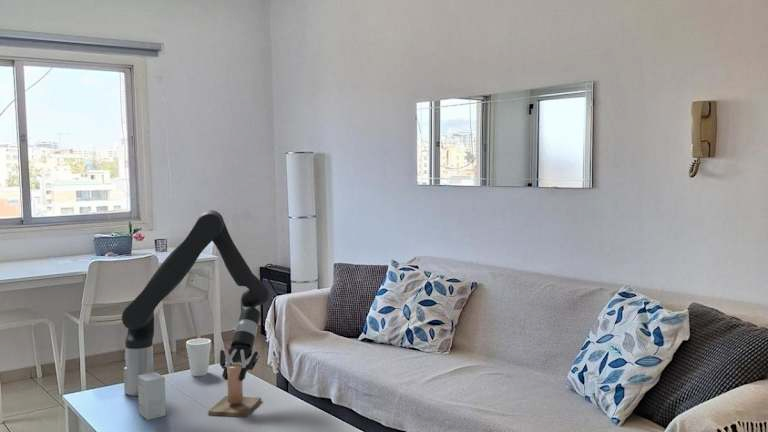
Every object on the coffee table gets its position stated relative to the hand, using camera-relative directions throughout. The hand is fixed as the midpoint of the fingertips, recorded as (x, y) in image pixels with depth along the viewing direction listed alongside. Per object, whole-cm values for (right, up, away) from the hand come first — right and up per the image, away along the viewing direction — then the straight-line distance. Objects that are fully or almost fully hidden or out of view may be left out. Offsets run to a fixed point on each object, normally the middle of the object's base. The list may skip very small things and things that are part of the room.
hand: (232, 379), depth 225 cm
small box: (-26, -11, -4) cm, 28 cm away
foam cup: (-22, -8, +40) cm, 47 cm away
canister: (0, -8, +2) cm, 8 cm away
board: (0, -10, +2) cm, 11 cm away
